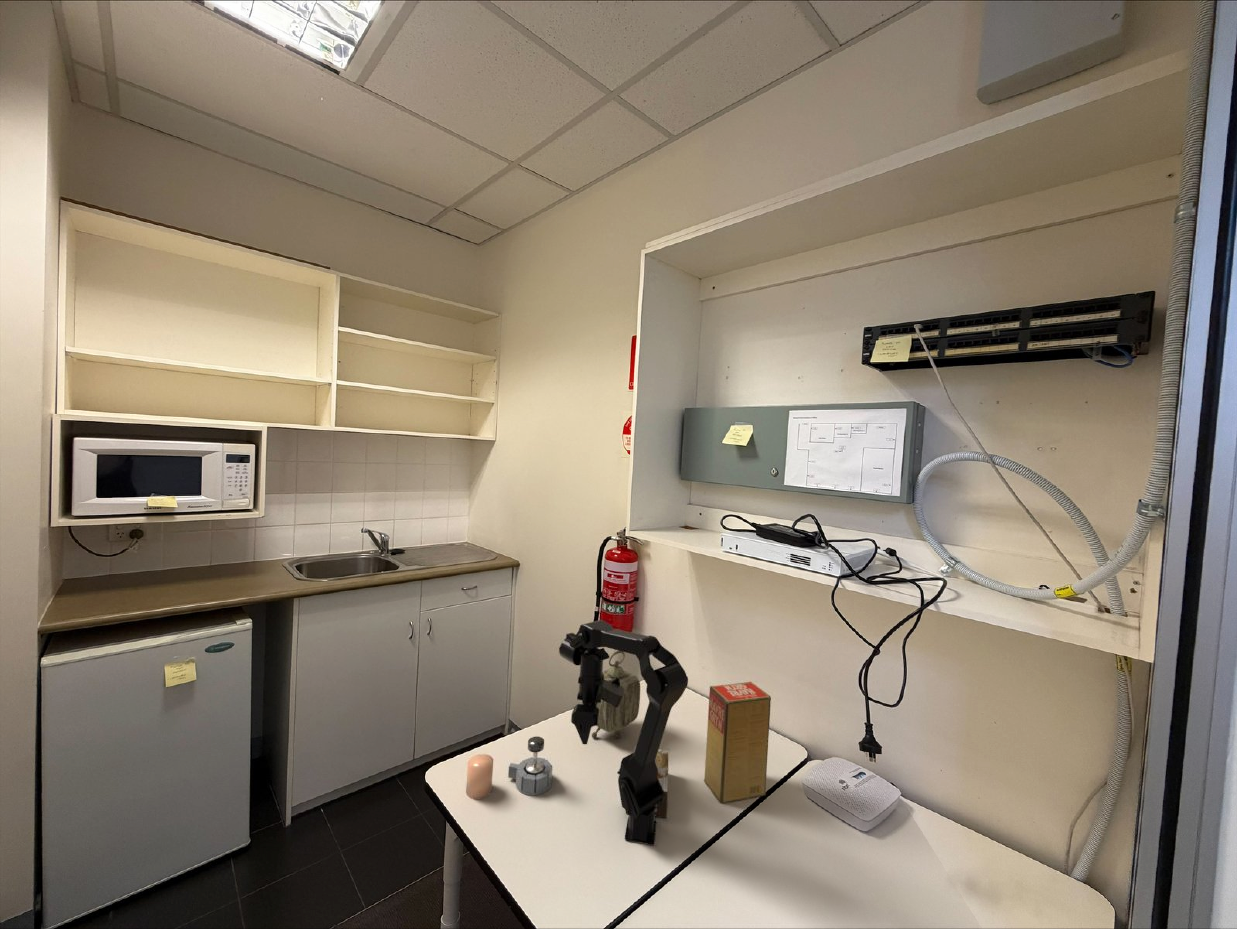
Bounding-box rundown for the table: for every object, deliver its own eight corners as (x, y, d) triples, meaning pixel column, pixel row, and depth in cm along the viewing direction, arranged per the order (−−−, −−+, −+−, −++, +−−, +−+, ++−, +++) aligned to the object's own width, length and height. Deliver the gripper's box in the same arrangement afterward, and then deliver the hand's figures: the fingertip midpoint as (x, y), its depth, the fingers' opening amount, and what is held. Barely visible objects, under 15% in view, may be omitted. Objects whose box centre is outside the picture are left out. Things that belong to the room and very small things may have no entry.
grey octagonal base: (545, 798, 115) (546, 782, 115) (502, 790, 117) (503, 775, 117) (555, 774, 124) (556, 760, 124) (515, 767, 125) (516, 753, 125)
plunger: (540, 775, 117) (541, 747, 117) (523, 772, 118) (524, 745, 118) (545, 764, 122) (547, 737, 122) (529, 761, 122) (530, 735, 122)
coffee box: (633, 769, 128) (626, 813, 112) (635, 745, 128) (628, 785, 112) (668, 774, 127) (666, 819, 111) (669, 750, 126) (668, 791, 111)
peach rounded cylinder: (485, 801, 113) (487, 771, 113) (461, 796, 114) (463, 767, 114) (495, 784, 119) (497, 756, 119) (472, 780, 120) (474, 752, 120)
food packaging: (746, 771, 129) (752, 680, 129) (767, 795, 120) (773, 697, 120) (702, 779, 125) (708, 685, 125) (720, 805, 116) (727, 703, 116)
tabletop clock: (617, 719, 151) (622, 641, 151) (640, 731, 145) (645, 650, 145) (585, 738, 140) (590, 653, 140) (608, 752, 134) (613, 663, 134)
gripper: (620, 693, 111) (616, 759, 111) (625, 659, 129) (621, 716, 130) (572, 688, 112) (568, 754, 112) (584, 655, 130) (581, 712, 130)
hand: (587, 733), depth 121 cm, fingers open, 9 cm apart
